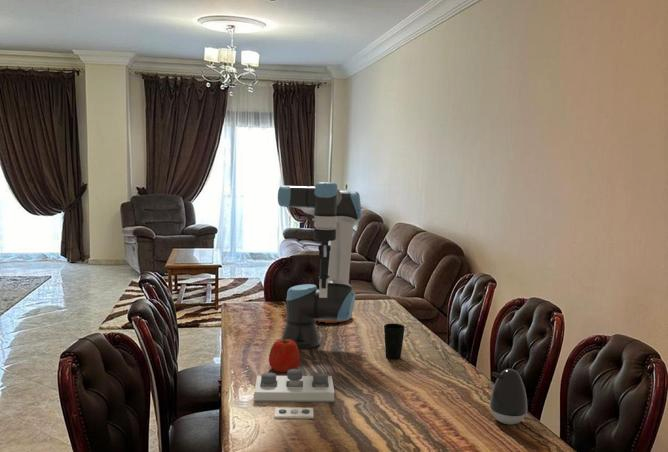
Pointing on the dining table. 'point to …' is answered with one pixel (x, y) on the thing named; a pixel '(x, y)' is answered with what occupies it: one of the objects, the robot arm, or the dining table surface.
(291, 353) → the apple
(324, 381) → the button
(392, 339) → the cup
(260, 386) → the board
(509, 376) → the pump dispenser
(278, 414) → the pattern card
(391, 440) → the dining table surface
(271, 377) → the button
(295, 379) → the button
